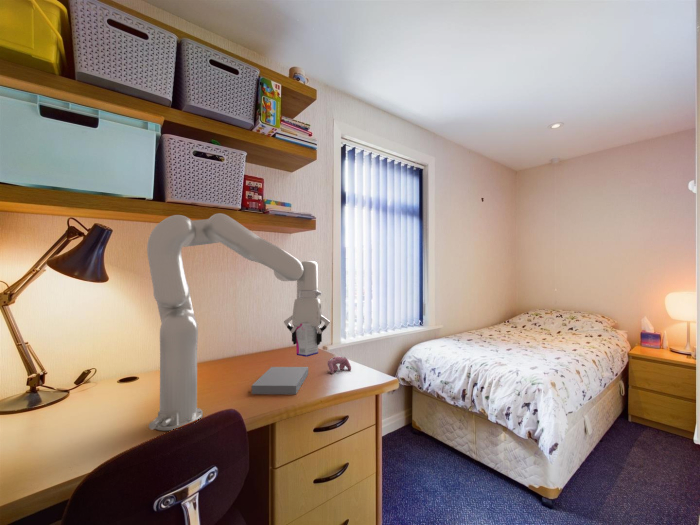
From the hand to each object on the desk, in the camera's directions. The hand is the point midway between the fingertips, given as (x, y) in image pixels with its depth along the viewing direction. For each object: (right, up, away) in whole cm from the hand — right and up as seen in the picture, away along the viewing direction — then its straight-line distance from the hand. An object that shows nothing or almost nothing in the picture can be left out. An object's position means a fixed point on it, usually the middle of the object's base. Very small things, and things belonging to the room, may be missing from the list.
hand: (306, 343), depth 109 cm
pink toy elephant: (+11, -18, +24) cm, 32 cm away
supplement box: (0, -4, 0) cm, 4 cm away
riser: (-11, -18, +9) cm, 23 cm away
